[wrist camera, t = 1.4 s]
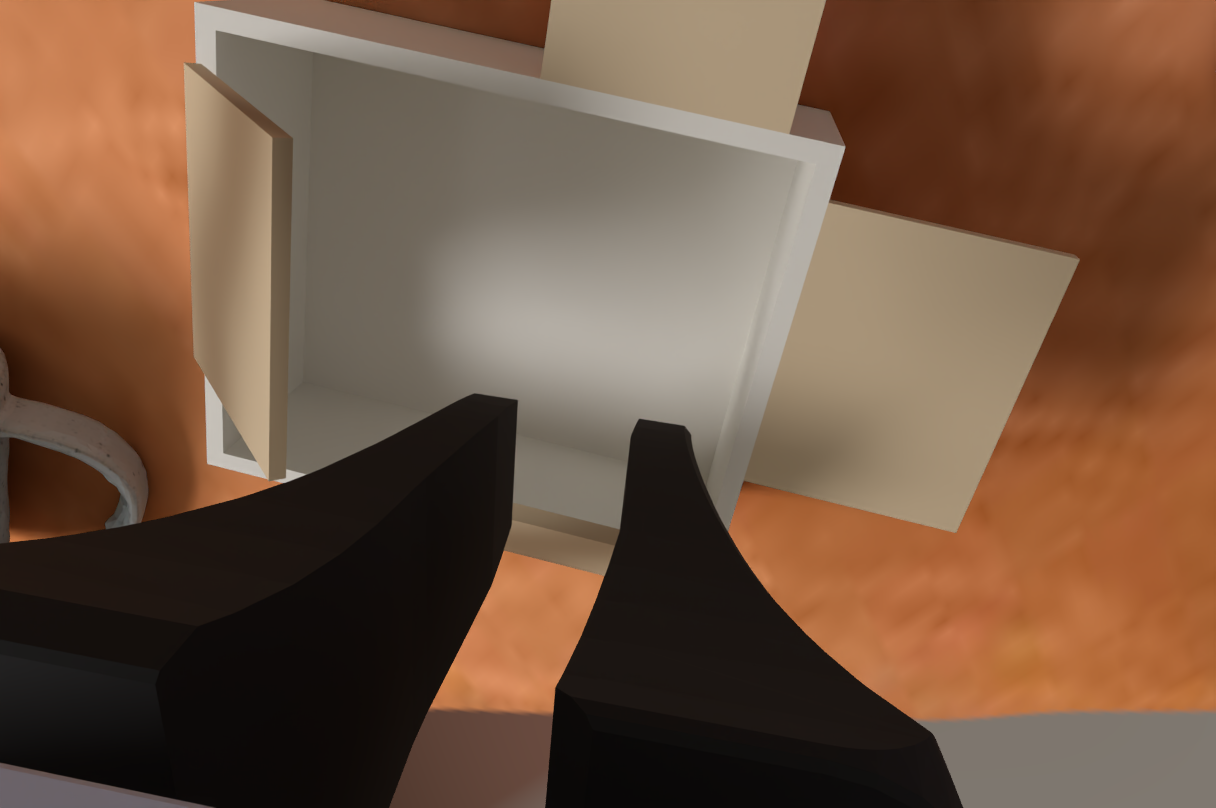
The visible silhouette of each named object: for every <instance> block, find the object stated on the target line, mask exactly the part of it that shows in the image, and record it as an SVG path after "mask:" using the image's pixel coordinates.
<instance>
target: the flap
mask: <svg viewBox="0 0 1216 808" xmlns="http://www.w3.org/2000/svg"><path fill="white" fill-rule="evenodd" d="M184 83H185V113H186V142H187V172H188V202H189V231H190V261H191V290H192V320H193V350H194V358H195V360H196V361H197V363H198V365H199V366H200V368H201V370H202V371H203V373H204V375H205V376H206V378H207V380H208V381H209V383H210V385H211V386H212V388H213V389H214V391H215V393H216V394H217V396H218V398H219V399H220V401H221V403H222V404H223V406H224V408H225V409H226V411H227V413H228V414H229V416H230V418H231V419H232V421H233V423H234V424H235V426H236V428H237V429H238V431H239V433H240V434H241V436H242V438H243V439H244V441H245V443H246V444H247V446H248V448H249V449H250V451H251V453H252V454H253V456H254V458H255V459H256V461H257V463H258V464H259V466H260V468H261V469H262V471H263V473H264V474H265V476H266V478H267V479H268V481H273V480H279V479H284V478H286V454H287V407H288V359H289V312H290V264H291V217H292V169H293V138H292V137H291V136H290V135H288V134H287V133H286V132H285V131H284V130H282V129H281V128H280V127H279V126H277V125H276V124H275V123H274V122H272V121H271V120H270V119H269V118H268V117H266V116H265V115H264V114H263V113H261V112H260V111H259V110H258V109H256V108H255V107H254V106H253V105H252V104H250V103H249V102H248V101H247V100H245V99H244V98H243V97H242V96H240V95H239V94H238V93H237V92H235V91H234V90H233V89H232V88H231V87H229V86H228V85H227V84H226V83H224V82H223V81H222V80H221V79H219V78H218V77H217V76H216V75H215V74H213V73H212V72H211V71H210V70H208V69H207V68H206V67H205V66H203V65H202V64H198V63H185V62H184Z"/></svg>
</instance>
